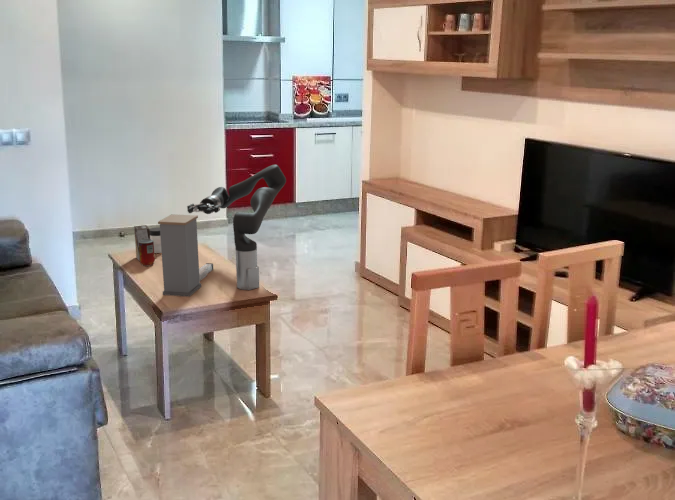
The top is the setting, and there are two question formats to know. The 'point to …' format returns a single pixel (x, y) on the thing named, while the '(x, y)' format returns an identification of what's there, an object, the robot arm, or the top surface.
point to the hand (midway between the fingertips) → (198, 211)
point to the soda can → (146, 252)
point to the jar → (156, 239)
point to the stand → (180, 255)
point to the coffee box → (140, 236)
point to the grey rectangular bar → (205, 270)
